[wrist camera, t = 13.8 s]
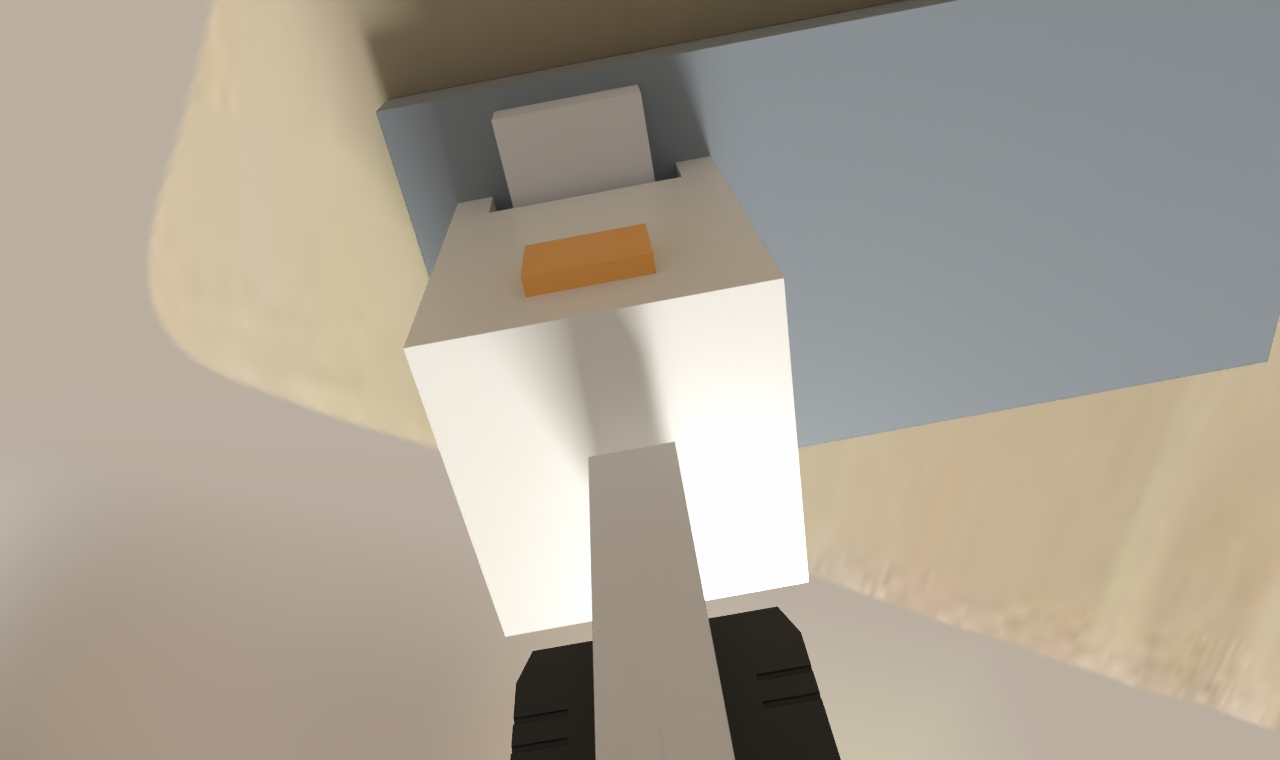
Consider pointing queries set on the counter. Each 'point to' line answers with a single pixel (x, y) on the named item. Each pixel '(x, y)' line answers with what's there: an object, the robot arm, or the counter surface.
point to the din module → (611, 383)
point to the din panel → (931, 187)
